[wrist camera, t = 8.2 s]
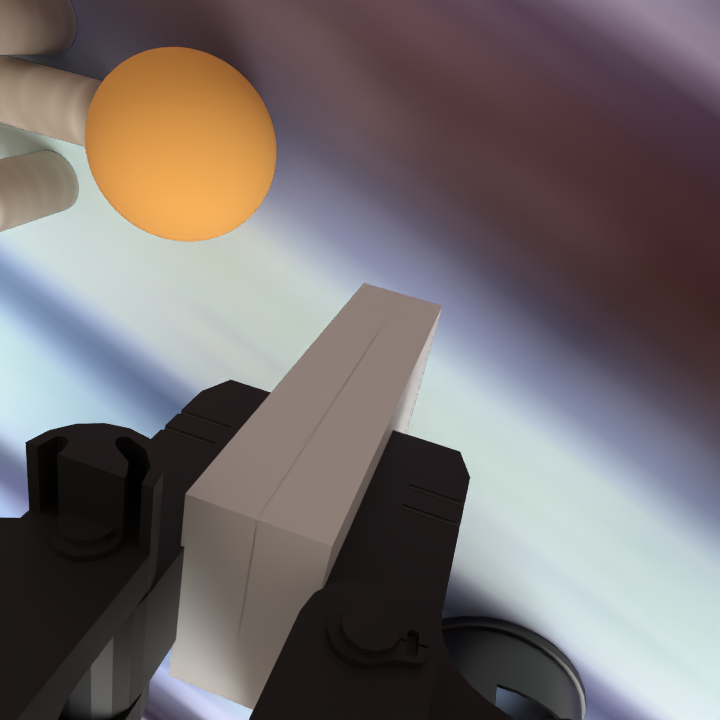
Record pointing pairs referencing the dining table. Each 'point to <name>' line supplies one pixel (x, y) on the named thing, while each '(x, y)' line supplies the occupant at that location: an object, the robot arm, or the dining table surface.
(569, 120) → the dining table surface
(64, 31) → the pin
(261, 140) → the ball
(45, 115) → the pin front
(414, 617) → the robot arm
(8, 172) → the pin
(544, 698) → the french press
